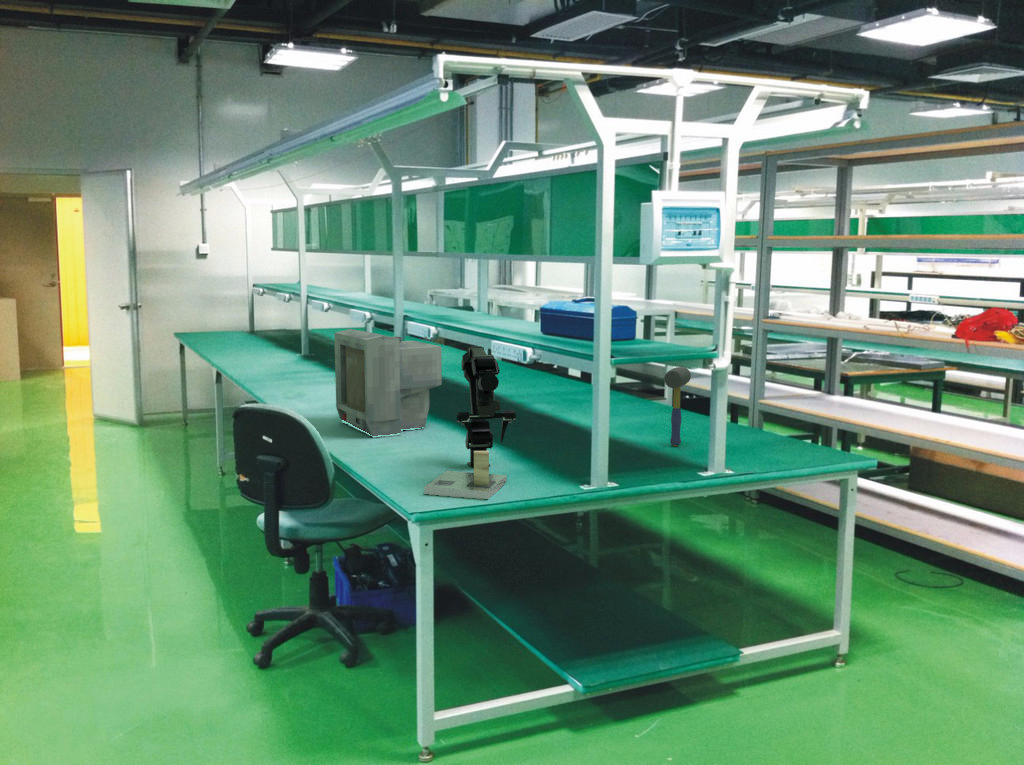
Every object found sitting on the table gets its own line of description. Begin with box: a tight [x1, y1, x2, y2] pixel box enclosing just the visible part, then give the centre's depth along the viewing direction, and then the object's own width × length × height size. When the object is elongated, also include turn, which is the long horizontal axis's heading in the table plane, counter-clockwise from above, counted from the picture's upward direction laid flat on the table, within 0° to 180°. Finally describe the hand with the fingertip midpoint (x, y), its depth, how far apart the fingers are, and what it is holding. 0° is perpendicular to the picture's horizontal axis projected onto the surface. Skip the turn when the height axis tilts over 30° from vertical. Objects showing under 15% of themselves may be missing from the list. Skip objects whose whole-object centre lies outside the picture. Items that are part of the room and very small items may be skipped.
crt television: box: [333, 328, 443, 436], centre depth 359 cm, size 39×36×40 cm
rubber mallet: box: [663, 366, 692, 447], centre depth 326 cm, size 12×8×30 cm, turn 152°
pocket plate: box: [423, 470, 508, 500], centre depth 266 cm, size 20×20×3 cm
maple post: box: [473, 450, 490, 485], centre depth 261 cm, size 4×4×10 cm
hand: (487, 443), depth 275 cm, fingers open, 9 cm apart
